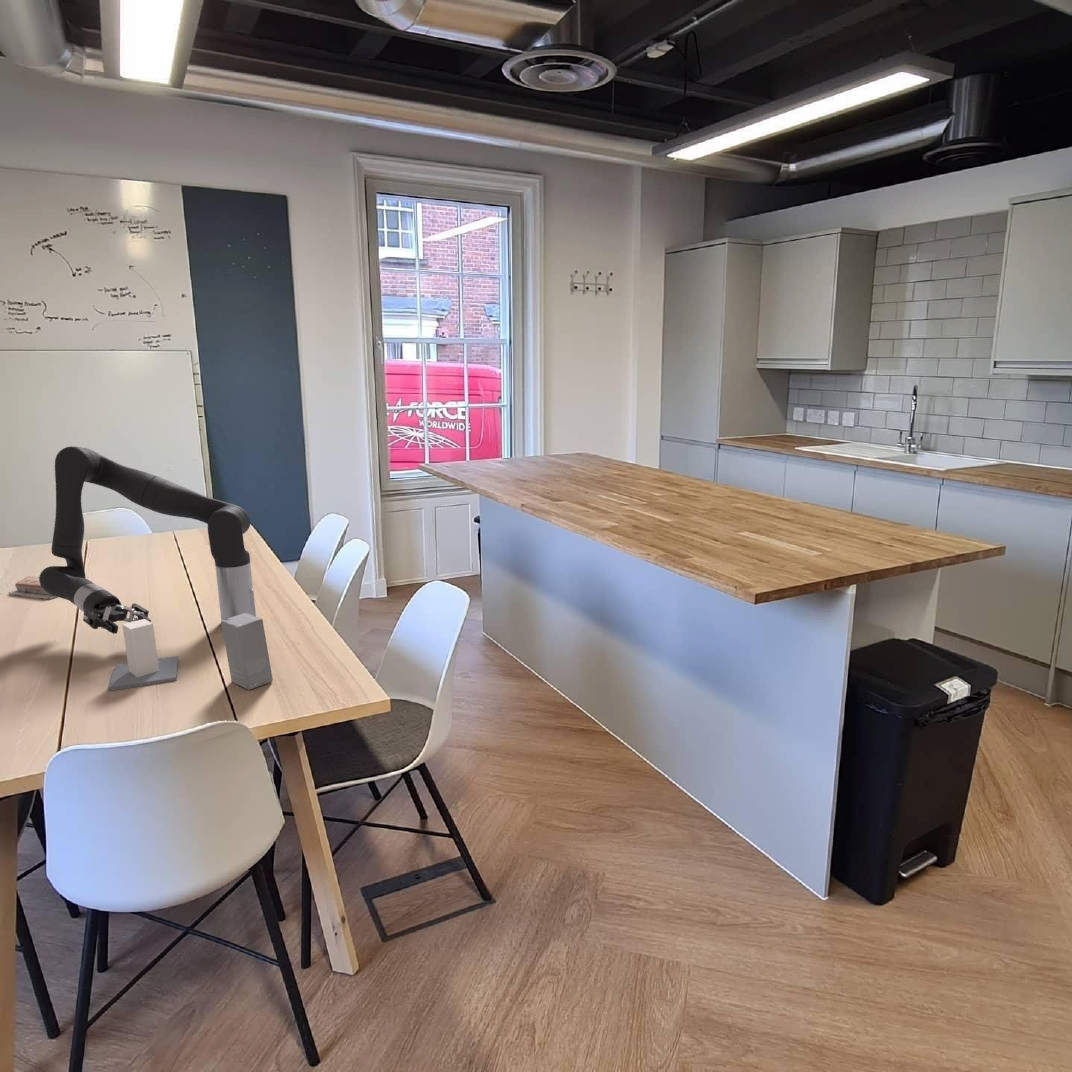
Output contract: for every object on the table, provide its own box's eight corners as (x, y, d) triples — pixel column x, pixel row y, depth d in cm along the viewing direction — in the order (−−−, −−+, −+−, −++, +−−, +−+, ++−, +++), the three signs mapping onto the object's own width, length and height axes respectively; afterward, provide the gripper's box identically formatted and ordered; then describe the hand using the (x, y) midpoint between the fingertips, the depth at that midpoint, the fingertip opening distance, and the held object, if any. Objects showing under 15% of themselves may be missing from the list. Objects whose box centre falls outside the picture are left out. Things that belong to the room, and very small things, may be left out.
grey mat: (178, 658, 192) (178, 655, 191) (176, 680, 179) (175, 677, 179) (115, 667, 186) (115, 664, 186) (108, 690, 174) (108, 687, 174)
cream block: (150, 665, 186) (144, 618, 183) (159, 670, 183) (152, 623, 180) (129, 671, 182) (122, 624, 179) (137, 677, 179) (130, 629, 176)
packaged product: (76, 577, 246) (48, 586, 237) (78, 591, 247) (50, 601, 238) (34, 572, 252) (5, 581, 242) (37, 586, 253) (8, 595, 244)
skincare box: (273, 682, 178) (267, 618, 174) (244, 692, 173) (237, 626, 169) (255, 672, 183) (248, 610, 179) (226, 682, 178) (219, 618, 174)
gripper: (70, 592, 192) (107, 618, 185) (125, 585, 204) (161, 609, 197) (66, 620, 194) (103, 646, 186) (121, 611, 206) (157, 635, 199)
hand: (133, 627), depth 192 cm, fingers open, 8 cm apart
